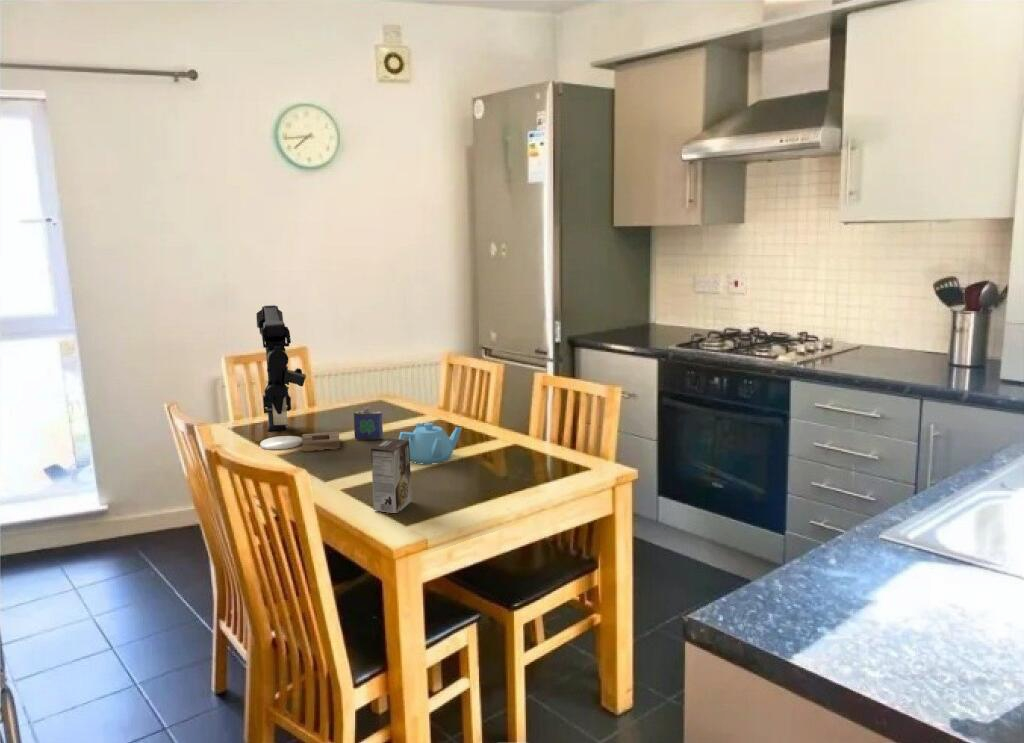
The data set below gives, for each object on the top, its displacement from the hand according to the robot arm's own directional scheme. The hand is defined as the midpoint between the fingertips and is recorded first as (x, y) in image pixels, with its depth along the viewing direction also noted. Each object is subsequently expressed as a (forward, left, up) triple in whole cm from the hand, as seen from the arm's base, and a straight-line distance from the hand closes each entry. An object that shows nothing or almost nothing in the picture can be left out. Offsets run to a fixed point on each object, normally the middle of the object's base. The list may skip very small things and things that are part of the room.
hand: (279, 412), depth 242 cm
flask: (+2, +27, -11) cm, 29 cm away
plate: (0, 0, -10) cm, 10 cm away
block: (0, 0, -4) cm, 4 cm away
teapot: (+28, +43, -11) cm, 52 cm away
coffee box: (+65, +28, -11) cm, 72 cm away
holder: (+5, +12, -10) cm, 17 cm away
